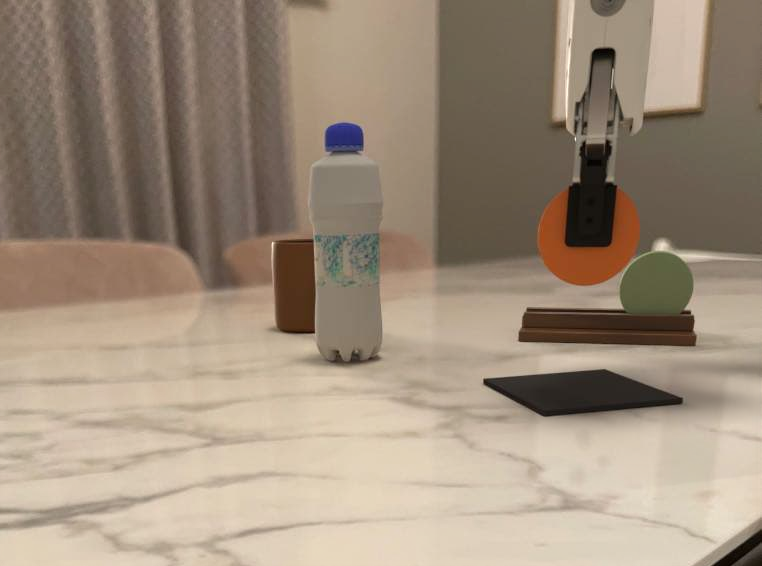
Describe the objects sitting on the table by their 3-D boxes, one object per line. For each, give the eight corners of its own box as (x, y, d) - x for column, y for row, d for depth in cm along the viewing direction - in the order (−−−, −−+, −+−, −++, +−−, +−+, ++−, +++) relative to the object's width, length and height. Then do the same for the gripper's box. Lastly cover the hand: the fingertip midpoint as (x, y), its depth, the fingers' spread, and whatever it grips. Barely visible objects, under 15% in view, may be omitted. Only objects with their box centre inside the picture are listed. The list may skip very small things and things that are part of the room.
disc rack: (525, 327, 94) (526, 304, 93) (687, 330, 90) (690, 306, 89) (518, 341, 86) (519, 316, 85) (695, 345, 82) (699, 319, 81)
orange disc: (536, 282, 63) (542, 181, 61) (633, 284, 62) (644, 180, 59) (534, 285, 62) (541, 181, 59) (634, 286, 60) (645, 180, 58)
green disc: (615, 321, 88) (622, 250, 85) (687, 322, 86) (696, 250, 84) (616, 323, 87) (623, 251, 84) (688, 325, 85) (698, 251, 82)
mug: (383, 323, 99) (383, 237, 95) (374, 333, 92) (373, 242, 88) (284, 322, 101) (279, 238, 97) (267, 333, 94) (262, 243, 90)
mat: (604, 373, 71) (604, 368, 71) (682, 403, 61) (683, 398, 61) (482, 383, 69) (482, 378, 69) (544, 416, 59) (544, 410, 59)
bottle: (319, 351, 83) (310, 125, 76) (387, 350, 83) (385, 123, 75) (308, 364, 77) (298, 120, 69) (382, 364, 76) (379, 118, 69)
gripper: (687, -104, 46) (647, 254, 53) (668, -37, 60) (638, 239, 67) (546, -91, 48) (525, 254, 55) (559, -29, 62) (542, 239, 69)
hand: (588, 243), depth 61 cm, fingers closed on orange disc, 1 cm apart
